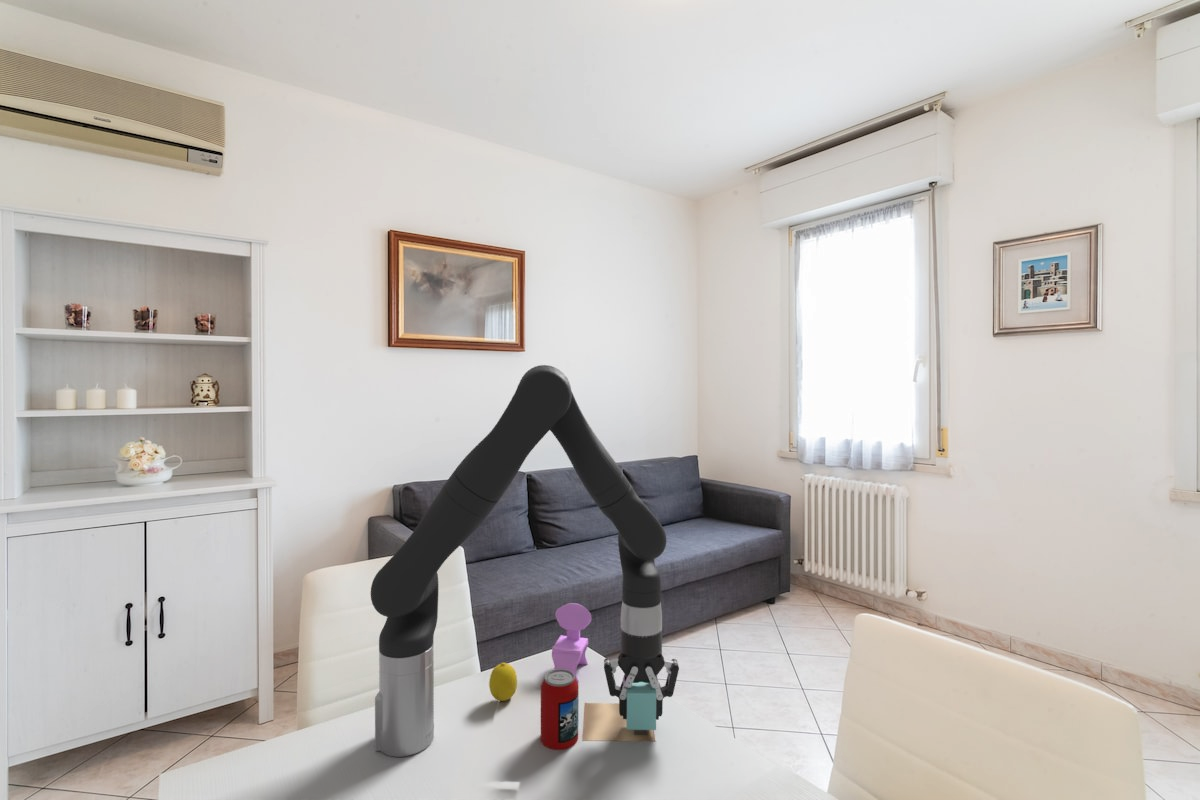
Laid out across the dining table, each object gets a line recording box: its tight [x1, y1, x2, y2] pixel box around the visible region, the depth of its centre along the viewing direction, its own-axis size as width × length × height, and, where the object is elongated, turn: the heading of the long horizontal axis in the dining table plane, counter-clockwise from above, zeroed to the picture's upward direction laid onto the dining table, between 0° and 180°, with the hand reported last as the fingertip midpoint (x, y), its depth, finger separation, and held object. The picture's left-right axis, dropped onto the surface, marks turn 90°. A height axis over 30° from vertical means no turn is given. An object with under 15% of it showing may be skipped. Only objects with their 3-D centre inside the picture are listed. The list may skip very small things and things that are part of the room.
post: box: [634, 730, 648, 735], centre depth 106 cm, size 2×2×6 cm
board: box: [582, 702, 656, 742], centre depth 109 cm, size 13×12×1 cm
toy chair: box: [551, 602, 592, 683], centre depth 127 cm, size 8×9×15 cm
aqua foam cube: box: [626, 682, 657, 731], centre depth 106 cm, size 5×5×7 cm
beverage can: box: [540, 669, 580, 751], centre depth 103 cm, size 7×7×12 cm
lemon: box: [488, 662, 518, 702], centre depth 116 cm, size 6×6×8 cm
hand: (640, 716), depth 106 cm, fingers closed on aqua foam cube, 5 cm apart
